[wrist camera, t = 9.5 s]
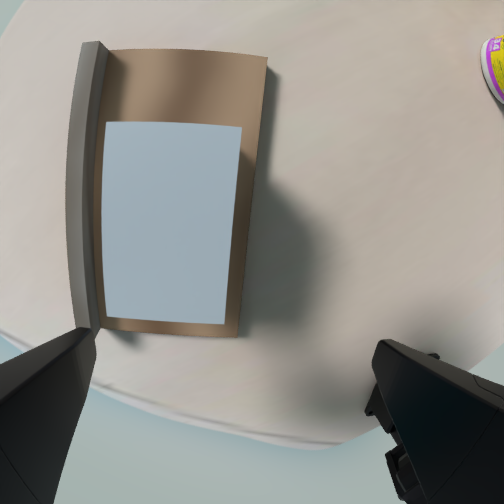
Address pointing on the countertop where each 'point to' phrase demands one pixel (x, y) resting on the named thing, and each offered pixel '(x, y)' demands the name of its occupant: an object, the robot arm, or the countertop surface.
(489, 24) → the countertop surface
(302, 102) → the countertop surface
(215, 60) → the shelf board
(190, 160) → the carton
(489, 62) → the supplement bottle
